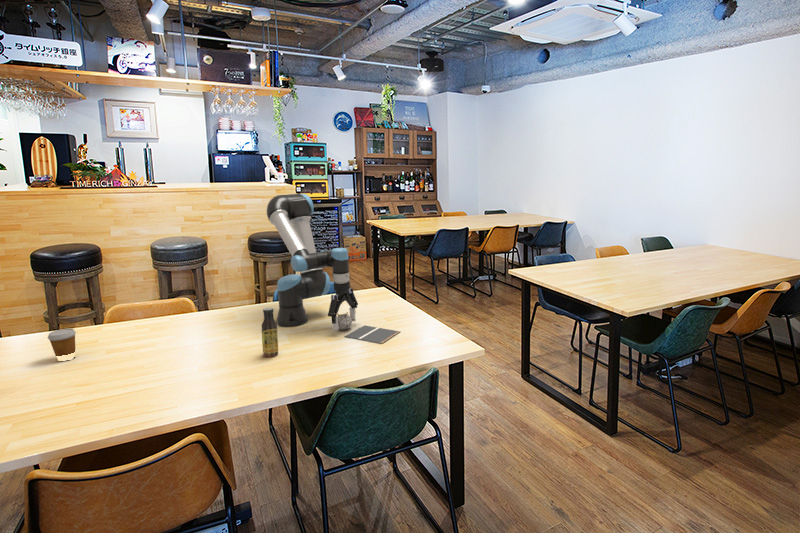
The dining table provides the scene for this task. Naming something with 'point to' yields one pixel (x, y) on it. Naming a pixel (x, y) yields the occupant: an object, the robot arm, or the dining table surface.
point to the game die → (344, 321)
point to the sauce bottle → (269, 334)
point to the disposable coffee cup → (63, 341)
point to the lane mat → (373, 334)
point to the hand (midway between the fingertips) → (344, 325)
